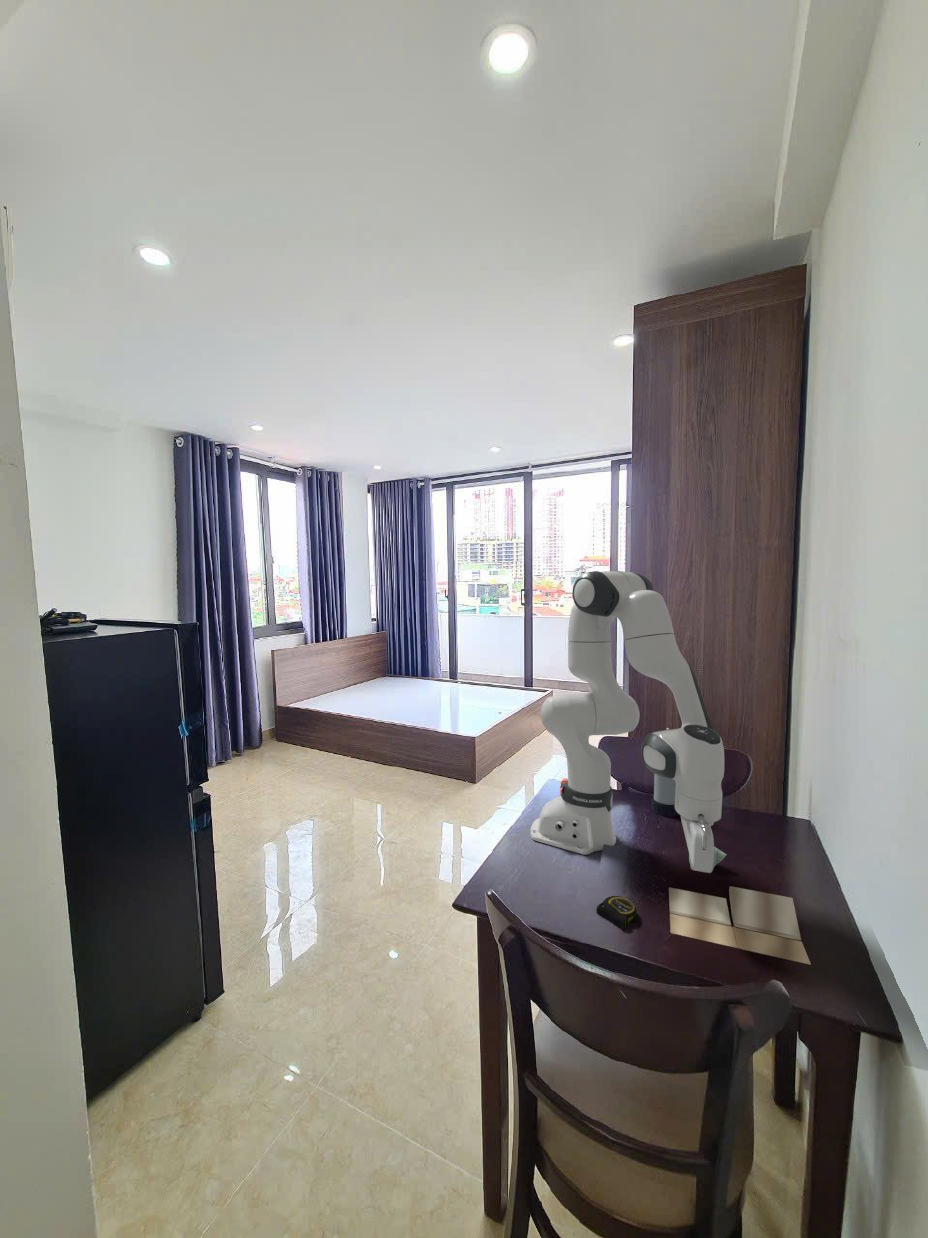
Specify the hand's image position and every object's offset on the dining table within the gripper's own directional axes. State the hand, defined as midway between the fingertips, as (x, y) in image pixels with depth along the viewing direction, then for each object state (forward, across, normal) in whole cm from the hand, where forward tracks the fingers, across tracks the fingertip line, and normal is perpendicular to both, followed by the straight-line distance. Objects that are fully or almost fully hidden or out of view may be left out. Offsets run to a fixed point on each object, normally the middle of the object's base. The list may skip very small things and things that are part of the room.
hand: (694, 866), depth 105 cm
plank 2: (+5, -5, -12) cm, 14 cm away
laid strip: (+7, -12, -6) cm, 15 cm away
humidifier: (+10, +45, +2) cm, 46 cm away
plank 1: (+7, -4, 0) cm, 8 cm away
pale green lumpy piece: (+8, +13, -5) cm, 17 cm away
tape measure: (+8, -12, +15) cm, 21 cm away
